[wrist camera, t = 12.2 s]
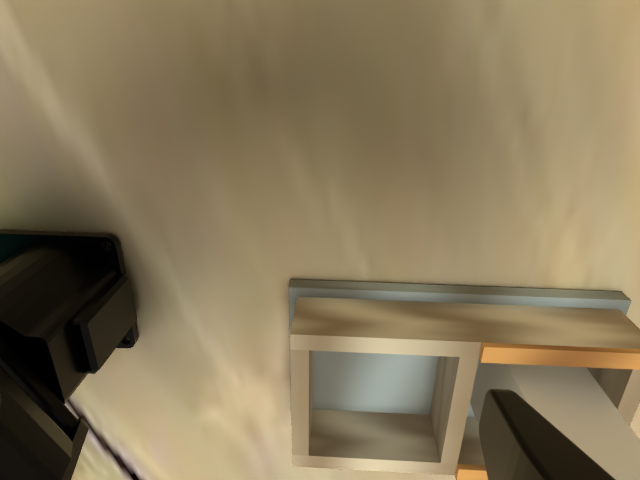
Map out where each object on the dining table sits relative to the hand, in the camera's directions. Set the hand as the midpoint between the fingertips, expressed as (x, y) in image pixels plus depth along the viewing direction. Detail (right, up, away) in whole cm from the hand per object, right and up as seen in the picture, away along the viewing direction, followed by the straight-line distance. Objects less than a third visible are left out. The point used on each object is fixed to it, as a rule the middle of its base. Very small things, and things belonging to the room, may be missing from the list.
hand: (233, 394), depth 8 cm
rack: (+8, -4, +15) cm, 18 cm away
